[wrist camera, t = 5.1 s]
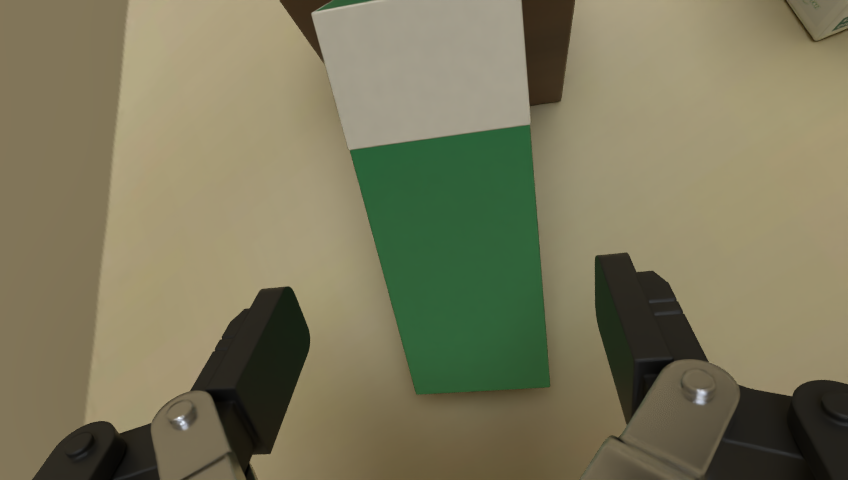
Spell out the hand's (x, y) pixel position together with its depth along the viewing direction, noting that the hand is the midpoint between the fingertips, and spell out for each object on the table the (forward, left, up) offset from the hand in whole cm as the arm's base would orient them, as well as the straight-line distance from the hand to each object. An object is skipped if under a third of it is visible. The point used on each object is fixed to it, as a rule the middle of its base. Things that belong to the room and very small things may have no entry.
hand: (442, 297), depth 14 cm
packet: (+3, -2, -11) cm, 12 cm away
